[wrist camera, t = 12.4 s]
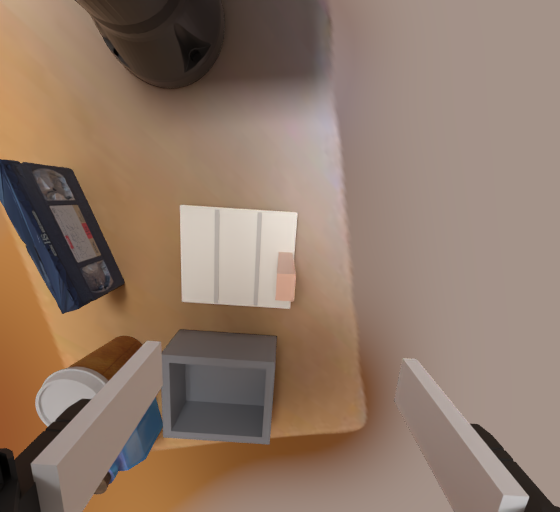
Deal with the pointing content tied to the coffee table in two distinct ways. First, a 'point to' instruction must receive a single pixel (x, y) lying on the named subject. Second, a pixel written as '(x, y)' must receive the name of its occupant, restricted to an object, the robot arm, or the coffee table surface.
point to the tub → (218, 386)
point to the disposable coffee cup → (83, 378)
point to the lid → (237, 256)
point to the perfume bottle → (135, 445)
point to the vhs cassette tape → (59, 232)
